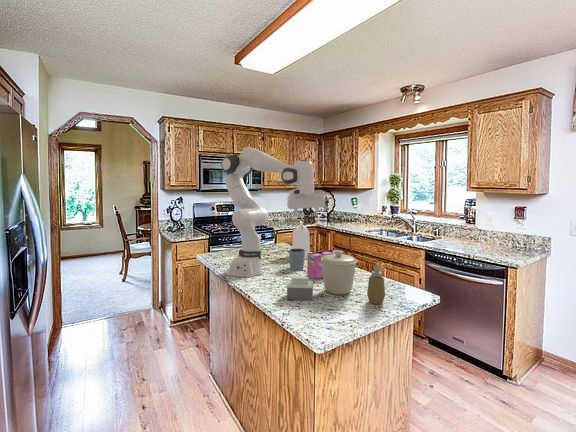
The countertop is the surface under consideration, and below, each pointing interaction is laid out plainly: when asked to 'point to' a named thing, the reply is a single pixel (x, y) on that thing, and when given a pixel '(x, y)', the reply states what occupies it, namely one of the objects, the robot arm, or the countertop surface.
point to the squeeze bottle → (376, 287)
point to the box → (299, 293)
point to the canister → (338, 272)
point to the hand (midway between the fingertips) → (306, 216)
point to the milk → (301, 239)
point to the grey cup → (296, 259)
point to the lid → (300, 283)
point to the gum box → (317, 263)
